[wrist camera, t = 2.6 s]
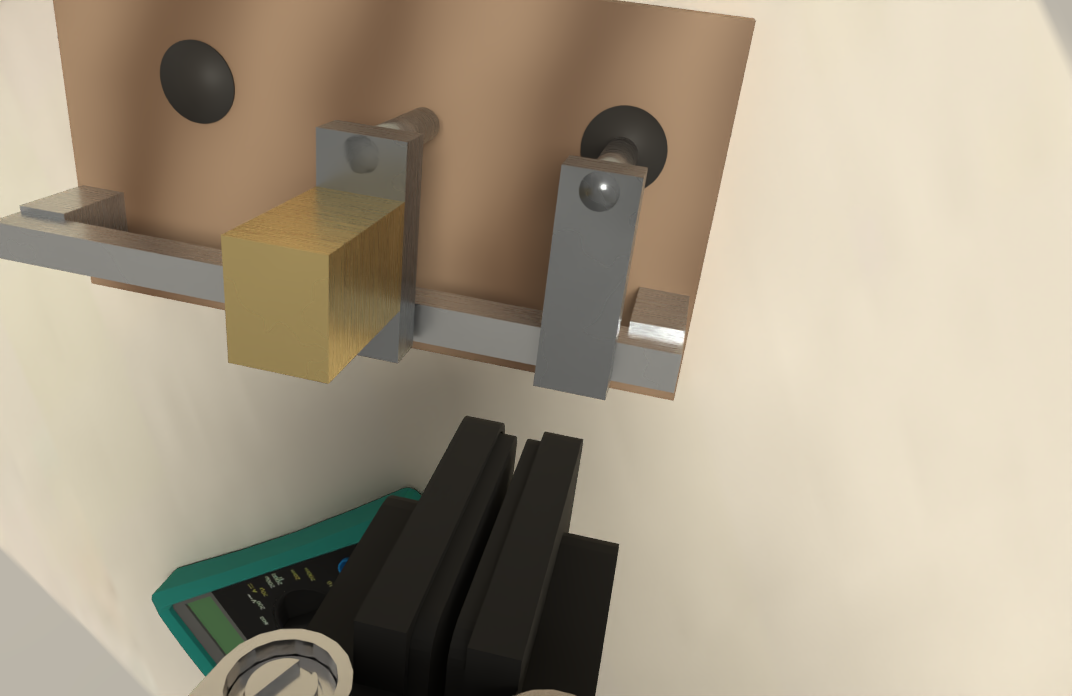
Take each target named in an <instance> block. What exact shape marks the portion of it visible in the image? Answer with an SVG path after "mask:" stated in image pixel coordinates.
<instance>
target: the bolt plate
mask: <svg viewBox="0 0 1072 696" xmlns="http://www.w3.org/2000/svg"><path fill="white" fill-rule="evenodd" d="M53 4H54V11H55V19H56V26H57V33H58V41H59V48H60V55H61V62H62V70H63V77H64V84H65V92H66V99H67V106H68V114H69V121H70V128H71V136H72V143H73V150H74V158H75V165H76V172H77V180H78V187H76V188H73V189H69V190H66V191H63V192H60V193H57V194H54V195H51V196H48V197H45V198H42V199H38V200H35V201H32V202H29V203H26V204H23V205H20V210H21V212H18V213H15V214H12V215H9V216H6V217H3V218H0V258H2V259H7V260H12V261H17V262H22V263H27V264H32V265H37V266H42V267H47V268H52V269H57V270H62V271H67V272H72V273H77V274H82V275H87V276H91V282H92V283H93V284H98V285H103V286H108V287H113V288H118V289H123V290H128V291H133V292H138V293H143V294H147V295H152V296H157V297H162V298H167V299H172V300H177V301H182V302H187V303H192V304H197V305H202V306H207V307H212V308H217V309H222V310H225V297H224V281H223V264H222V247H221V235H222V234H224V233H226V232H228V231H230V230H232V229H234V228H235V227H237V226H239V225H241V224H243V223H245V222H247V221H249V220H251V219H253V218H255V217H257V216H259V215H261V214H263V213H265V212H267V211H269V210H271V209H273V208H275V207H277V206H279V205H281V204H283V203H285V202H286V201H288V200H290V199H292V198H294V197H296V196H298V195H300V194H302V193H304V192H306V191H308V190H310V189H312V188H314V187H316V127H318V126H320V125H323V124H326V123H329V122H331V121H334V120H342V121H348V122H354V123H360V124H366V125H373V126H376V125H378V124H381V123H383V122H386V121H388V120H390V119H393V118H395V117H397V116H400V115H402V114H404V113H407V112H409V111H412V110H414V109H416V108H419V107H425V108H428V109H430V110H432V111H433V112H434V113H435V114H436V116H437V117H438V120H439V132H438V134H437V135H436V137H435V138H434V139H432V140H430V141H428V142H427V143H425V144H423V159H422V178H421V197H420V216H419V235H418V255H417V274H416V293H415V312H414V332H413V346H412V347H411V348H415V349H420V350H425V351H430V352H435V353H440V354H445V355H450V356H455V357H460V358H465V359H470V360H475V361H480V362H485V363H490V364H495V365H500V366H505V367H510V368H514V369H519V370H524V371H529V372H534V373H535V376H534V384H533V386H538V387H543V388H548V389H553V390H558V391H563V392H567V393H572V394H577V395H582V396H587V397H592V398H597V399H602V400H605V399H606V395H607V392H608V388H614V389H619V390H624V391H629V392H634V393H638V394H643V395H648V396H653V397H658V398H663V399H668V400H673V401H674V396H675V391H676V387H677V382H678V377H679V373H680V368H681V364H682V359H683V354H684V350H685V345H686V340H687V336H688V331H689V327H690V322H691V317H692V313H693V308H694V304H695V299H696V294H697V290H698V285H699V280H700V276H701V271H702V267H703V262H704V257H705V253H706V248H707V243H708V239H709V234H710V230H711V225H712V220H713V216H714V211H715V206H716V202H717V197H718V193H719V188H720V183H721V179H722V174H723V170H724V165H725V160H726V156H727V151H728V146H729V142H730V137H731V133H732V128H733V123H734V119H735V114H736V109H737V105H738V100H739V96H740V91H741V86H742V82H743V77H744V72H745V68H746V63H747V59H748V54H749V49H750V45H751V40H752V35H753V31H754V26H755V22H756V21H755V19H754V18H746V17H739V16H731V15H724V14H716V13H709V12H701V11H694V10H686V9H679V8H671V7H663V6H656V5H648V4H641V3H633V2H626V1H618V0H53Z"/></svg>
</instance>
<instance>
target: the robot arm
mask: <svg viewBox="0 0 1072 696" xmlns="http://www.w3.org/2000/svg"><path fill="white" fill-rule="evenodd" d="M582 445H583V439H579V438H574V437H569V436H564V435H559V434H554V433H549V432H544V435H543V437H542V440H541V441H537V440H532V439H527V442H526V444H525V447H524V449H523V452H522V454H521V457H520V459H519V462H518V465H517V467H516V470H515V472H514V463H515V455H516V446H517V437H516V436H512V435H507V434H505V425H504V423H500V422H495V421H490V420H485V419H480V418H475V417H470V416H465V417H464V419H463V420H462V422H461V424H460V426H459V428H458V430H457V431H456V433H455V435H454V437H453V439H452V441H451V442H450V444H449V446H448V448H447V450H446V452H445V453H444V455H443V457H442V459H441V461H440V463H439V464H438V466H437V468H436V470H435V472H434V474H433V476H432V477H431V479H430V481H429V483H428V485H427V487H426V488H425V490H424V492H423V494H422V496H421V498H420V499H419V501H418V500H413V499H409V498H404V497H399V496H395V495H390V496H388V497H387V498H386V499H385V501H384V502H383V503H382V505H381V506H380V508H379V510H378V511H377V513H376V515H375V516H374V518H373V520H372V521H371V523H370V524H369V526H368V528H367V529H366V531H365V533H364V534H363V536H362V538H361V539H360V541H359V543H358V544H357V546H356V547H355V549H354V551H353V552H352V554H351V556H350V557H349V559H348V561H347V562H346V564H345V566H344V567H343V569H342V570H341V572H340V574H339V575H338V577H337V579H336V580H335V582H334V584H333V585H332V587H331V589H330V590H329V592H328V593H327V595H326V597H325V598H324V600H323V602H322V603H321V605H320V607H319V608H318V610H317V612H316V613H315V615H314V617H313V618H312V620H311V621H310V623H309V625H308V626H307V628H306V630H305V629H279V630H275V631H271V632H267V633H263V634H259V635H257V636H255V637H253V638H251V639H249V640H247V641H245V642H243V643H241V644H239V645H238V646H237V647H236V648H234V649H233V650H232V651H231V652H230V653H228V654H227V655H226V656H225V657H224V658H223V659H222V660H221V661H220V662H219V663H218V664H217V665H216V666H215V667H214V668H213V669H212V671H211V672H210V673H209V674H208V675H207V676H206V677H205V678H204V679H203V680H202V681H201V682H200V683H199V685H198V686H197V687H196V688H195V689H194V690H193V691H192V692H191V693H190V694H189V695H188V696H595V693H596V687H597V681H598V675H599V668H600V662H601V656H602V649H603V643H604V637H605V631H606V624H607V618H608V612H609V606H610V599H611V593H612V587H613V581H614V574H615V568H616V562H617V556H618V549H619V544H616V543H612V542H607V541H602V540H598V539H593V538H588V537H584V536H579V535H575V534H570V533H568V532H569V526H570V520H571V514H572V507H573V501H574V495H575V489H576V483H577V477H578V471H579V465H580V458H581V452H582ZM513 472H514V475H513Z"/></svg>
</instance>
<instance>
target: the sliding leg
mask: <svg viewBox="0 0 1072 696" xmlns="http://www.w3.org/2000/svg"><path fill="white" fill-rule="evenodd" d="M438 132H439V120H438V117H437V116H436V114H435V113H434V112H433V111H432V110H430V109H428V108H425V107H419V108H416V109H414V110H412V111H409V112H407V113H404V114H402V115H400V116H397V117H395V118H393V119H390V120H388V121H386V122H383V123H381V124H378V125H376V126H373V125H366V124H360V123H354V122H348V121H342V120H334V121H331V122H329V123H326V124H323V125H320V126H318V127H316V187H314V188H312V189H310V190H308V191H306V192H304V193H302V194H300V195H298V196H296V197H294V198H292V199H290V200H288V201H286V202H285V203H283V204H281V205H279V206H277V207H275V208H273V209H271V210H269V211H267V212H265V213H263V214H261V215H259V216H257V217H255V218H253V219H251V220H249V221H247V222H245V223H243V224H241V225H239V226H237V227H235V228H234V229H232V230H230V231H228V232H226V233H224V234H222V235H221V247H222V264H223V281H224V297H225V314H226V331H227V347H228V363H233V364H237V365H242V366H247V367H252V368H256V369H261V370H266V371H271V372H275V373H280V374H285V375H289V376H294V377H299V378H304V379H308V380H313V381H318V382H323V383H327V384H329V383H330V382H331V381H332V380H333V379H334V378H335V377H336V376H337V375H338V374H339V372H340V371H341V370H342V369H343V368H344V367H345V366H346V365H347V364H348V363H349V362H350V361H351V360H352V359H353V358H354V357H355V356H356V355H360V356H365V357H370V358H375V359H380V360H385V361H389V362H394V363H398V362H399V361H400V360H401V359H402V358H403V357H404V355H405V354H406V353H407V352H408V351H409V350H410V348H411V347H412V346H413V332H414V312H415V293H416V274H417V255H418V235H419V216H420V197H421V178H422V159H423V144H425V143H427V142H428V141H430V140H432V139H434V138H435V137H436V135H437V134H438Z"/></svg>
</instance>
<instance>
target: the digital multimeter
mask: <svg viewBox="0 0 1072 696" xmlns="http://www.w3.org/2000/svg"><path fill="white" fill-rule="evenodd" d="M390 495H395V496H399V497H404V498H409V499H413V500H418V501H419V499H420V498H421V495H420V494H419V493H418V492H417V491H416V490H414V489H412V488H403V489H401V490H398V491H396V492H394V493H391V494H389V495H387V496H384V497H382V498H380V499H377V500H375V501H372V502H370V503H368V504H365V505H363V506H361V507H358V508H356V509H354V510H351V511H348V512H346V513H343V514H341V515H338V516H336V517H333V518H330V519H328V520H325V521H323V522H320V523H318V524H315V525H313V526H310V527H307V528H305V529H302V530H300V531H297V532H294V533H291V534H288V535H285V536H282V537H279V538H276V539H273V540H270V541H267V542H264V543H261V544H258V545H255V546H252V547H249V548H246V549H243V550H240V551H237V552H233V553H230V554H226V555H223V556H219V557H216V558H212V559H209V560H205V561H202V562H198V563H195V564H191V565H188V566H184V567H181V568H177V569H176V570H175V571H174V572H173V573H172V574H171V575H170V576H169V577H168V578H167V579H166V581H165V582H164V583H163V584H162V585H161V586H160V587H159V588H158V589H157V590H156V591H155V593H154V594H153V595H152V601H153V603H154V605H155V607H156V609H157V611H158V614H159V615H160V617H161V618H162V620H163V621H164V623H165V624H166V625H167V627H168V628H169V630H170V631H171V633H172V634H173V635H174V637H175V638H176V639H177V641H178V642H179V643H180V645H181V646H182V647H183V649H184V650H185V651H186V653H187V654H188V655H189V657H190V658H191V659H192V660H193V662H194V663H195V664H196V665H197V667H198V668H199V669H200V671H201V672H202V673H203V674H204V675H205V677H206V676H207V675H208V674H209V673H210V672H211V671H212V669H213V668H214V667H215V666H216V665H217V664H218V663H219V662H220V661H221V660H222V659H223V658H224V657H225V656H226V655H227V654H228V653H230V652H231V651H232V650H233V649H234V648H236V647H237V646H238V645H239V644H241V643H243V642H245V641H247V640H249V639H251V638H253V637H255V636H257V635H259V634H263V633H267V632H271V631H275V630H279V629H305V630H306V628H307V626H308V625H309V623H310V621H311V620H312V618H313V617H314V615H315V613H316V612H317V610H318V608H319V607H320V605H321V603H322V602H323V600H324V598H325V597H326V595H327V593H328V592H329V590H330V589H331V587H332V585H333V584H334V582H335V580H336V579H337V577H338V575H339V574H340V572H341V570H342V569H343V567H344V566H345V564H346V562H347V561H348V559H349V557H350V556H351V554H352V552H353V551H354V549H355V547H356V546H357V544H358V543H359V541H360V539H361V538H362V536H363V534H364V533H365V531H366V529H367V528H368V526H369V524H370V523H371V521H372V520H373V518H374V516H375V515H376V513H377V511H378V510H379V508H380V506H381V505H382V503H383V502H384V501H385V499H386V498H387V497H388V496H390ZM350 545H351V546H350ZM347 546H348V547H347ZM344 547H345V548H344ZM341 548H342V549H341ZM338 549H339V550H338ZM335 550H336V551H335ZM332 551H333V552H332ZM329 552H330V553H329ZM326 553H327V554H326ZM323 554H324V555H323ZM320 555H321V556H320ZM317 556H318V557H317ZM314 557H315V558H314ZM311 558H312V559H311ZM308 559H309V560H308ZM305 560H306V561H305ZM302 561H303V562H302ZM299 562H300V563H299ZM296 563H297V564H296ZM293 564H294V565H293ZM290 565H291V566H290ZM287 566H288V567H287ZM284 567H285V568H284ZM281 568H282V569H281ZM278 569H279V570H278ZM275 570H276V571H275ZM272 571H273V572H272ZM269 572H270V573H269ZM266 573H267V574H266ZM263 574H264V575H263ZM260 575H261V576H260ZM257 576H258V577H257ZM254 577H255V578H254ZM251 578H252V579H251ZM248 579H249V580H248ZM245 580H246V581H245ZM242 581H243V582H242ZM239 582H240V583H239ZM236 583H237V584H236ZM233 584H234V585H233ZM230 585H231V586H230ZM227 586H228V587H227ZM224 587H225V588H224ZM221 588H222V589H221ZM273 611H274V614H273ZM274 618H275V619H274ZM276 624H277V625H276ZM277 626H278V627H277Z"/></svg>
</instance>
